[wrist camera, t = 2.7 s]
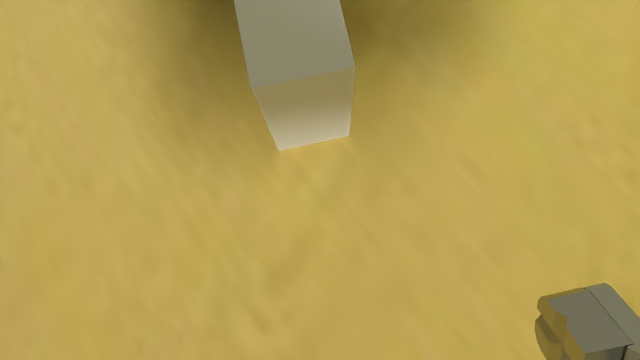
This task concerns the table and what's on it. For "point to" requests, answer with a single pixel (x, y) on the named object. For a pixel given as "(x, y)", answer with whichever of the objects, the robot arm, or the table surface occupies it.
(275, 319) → the table surface
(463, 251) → the table surface
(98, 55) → the table surface
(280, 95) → the off-white block
